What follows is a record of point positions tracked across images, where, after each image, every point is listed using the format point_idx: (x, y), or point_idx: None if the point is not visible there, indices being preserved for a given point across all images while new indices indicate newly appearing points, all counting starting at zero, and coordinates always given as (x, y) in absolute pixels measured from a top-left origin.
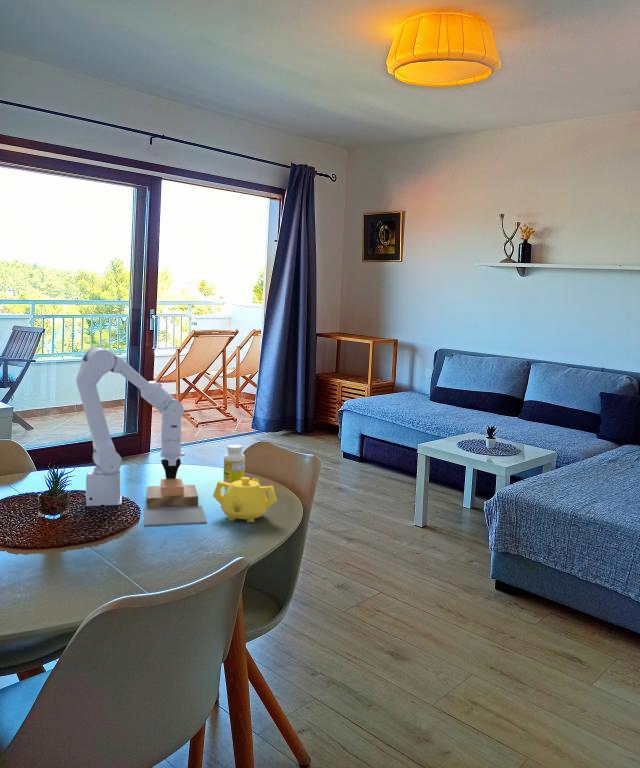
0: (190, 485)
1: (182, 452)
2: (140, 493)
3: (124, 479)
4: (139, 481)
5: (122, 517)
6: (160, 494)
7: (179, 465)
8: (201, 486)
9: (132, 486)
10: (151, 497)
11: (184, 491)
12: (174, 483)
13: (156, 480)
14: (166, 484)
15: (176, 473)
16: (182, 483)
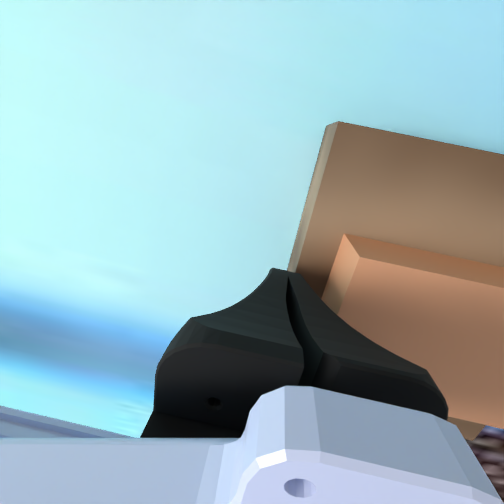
0: (345, 162)
1: (268, 496)
2: None
3: (5, 359)
4: (32, 320)
5: (487, 473)
6: None
7: (420, 370)
8: (153, 14)
9: (107, 359)
10: (470, 424)
11: (473, 247)
12: (479, 345)
13: (13, 252)
14: (467, 393)
15: (332, 311)
16: None
